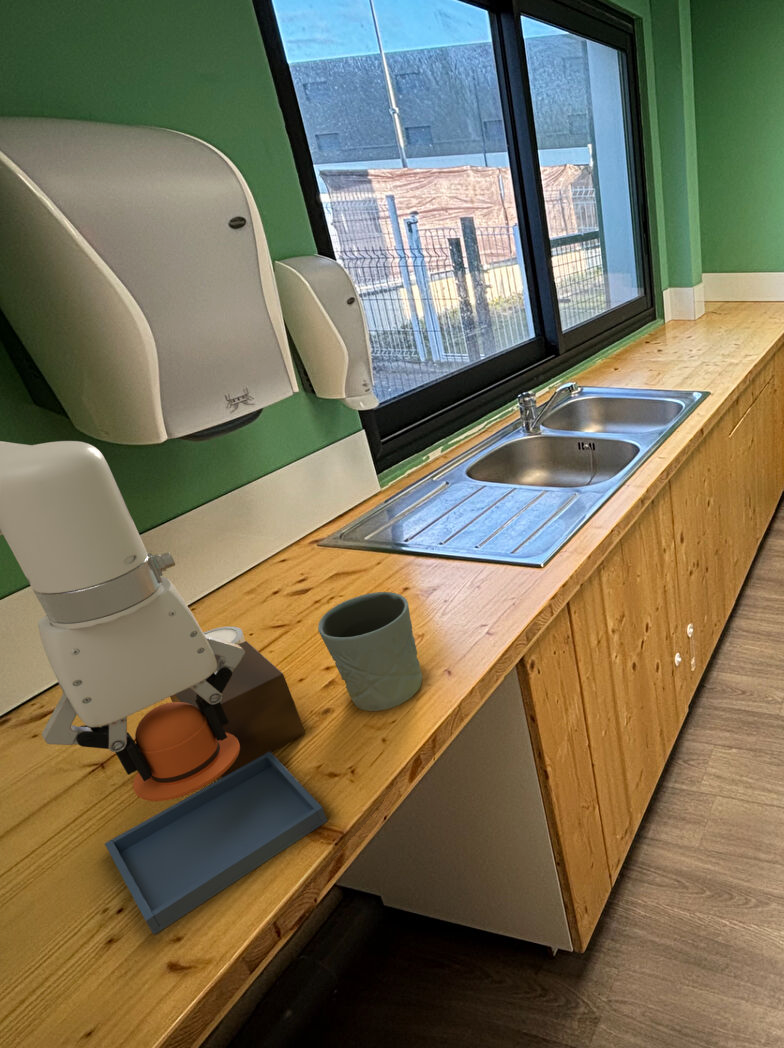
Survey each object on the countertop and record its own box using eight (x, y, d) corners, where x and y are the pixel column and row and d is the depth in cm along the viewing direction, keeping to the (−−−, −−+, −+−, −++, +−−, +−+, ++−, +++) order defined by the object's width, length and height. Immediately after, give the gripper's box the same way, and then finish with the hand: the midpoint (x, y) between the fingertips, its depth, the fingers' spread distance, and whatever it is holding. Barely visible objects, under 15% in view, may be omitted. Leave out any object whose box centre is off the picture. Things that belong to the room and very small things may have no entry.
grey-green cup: (442, 669, 95) (423, 594, 90) (398, 721, 86) (374, 640, 81) (376, 663, 97) (353, 589, 92) (326, 713, 88) (298, 634, 83)
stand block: (222, 779, 78) (194, 717, 74) (189, 737, 85) (161, 678, 81) (305, 733, 85) (283, 673, 81) (268, 697, 91) (246, 640, 87)
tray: (154, 935, 62) (145, 920, 61) (112, 857, 70) (104, 843, 69) (328, 821, 72) (322, 807, 72) (275, 764, 80) (269, 751, 79)
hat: (150, 816, 61) (117, 757, 58) (123, 773, 66) (91, 716, 63) (254, 758, 67) (229, 701, 64) (221, 723, 72) (197, 668, 69)
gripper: (202, 538, 67) (263, 689, 74) (-47, 622, 55) (57, 792, 62) (232, 559, 62) (294, 717, 70) (-32, 656, 50) (78, 834, 58)
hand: (181, 751), depth 66 cm, fingers closed on hat, 5 cm apart
